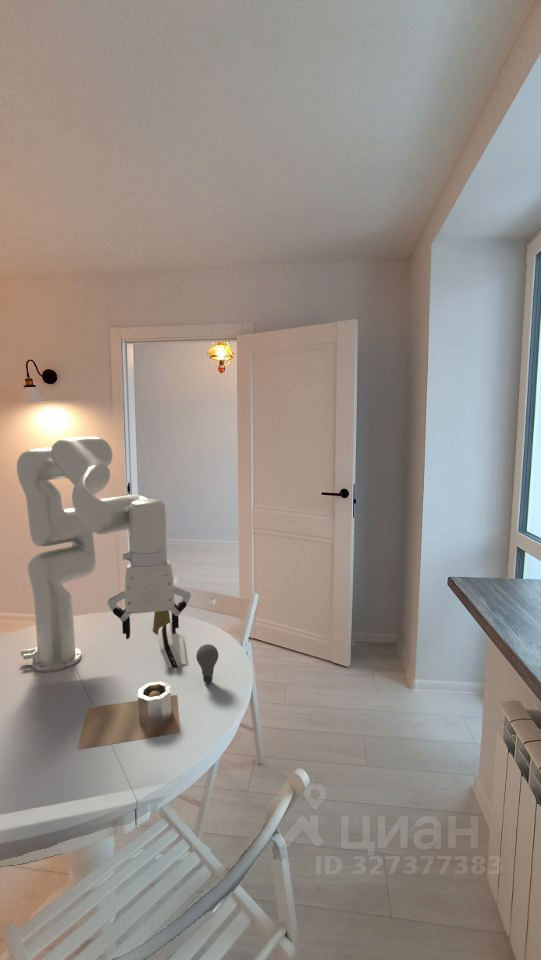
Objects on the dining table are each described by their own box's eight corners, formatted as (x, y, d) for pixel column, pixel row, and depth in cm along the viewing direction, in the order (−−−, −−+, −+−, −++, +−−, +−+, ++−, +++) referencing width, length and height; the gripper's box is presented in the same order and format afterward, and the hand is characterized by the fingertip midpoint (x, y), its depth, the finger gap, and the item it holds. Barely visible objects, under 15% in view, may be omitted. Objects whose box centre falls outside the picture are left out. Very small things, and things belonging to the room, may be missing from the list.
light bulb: (221, 686, 114) (220, 648, 113) (199, 690, 112) (198, 652, 111) (216, 674, 119) (215, 638, 118) (195, 679, 117) (194, 642, 116)
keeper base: (77, 756, 89) (75, 722, 88) (88, 714, 103) (86, 684, 102) (180, 739, 94) (179, 707, 93) (177, 700, 108) (176, 672, 107)
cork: (149, 633, 144) (148, 600, 143) (157, 625, 150) (156, 593, 149) (167, 634, 143) (166, 601, 142) (174, 626, 149) (173, 594, 148)
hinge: (189, 670, 121) (175, 639, 119) (172, 678, 120) (158, 646, 118) (185, 642, 137) (172, 614, 135) (170, 649, 136) (157, 621, 134)
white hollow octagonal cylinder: (138, 728, 95) (137, 701, 95) (139, 709, 102) (138, 684, 101) (171, 723, 97) (170, 696, 96) (170, 704, 104) (169, 680, 103)
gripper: (103, 565, 90) (107, 646, 92) (191, 559, 94) (192, 637, 96) (107, 555, 98) (111, 630, 99) (188, 550, 102) (190, 622, 104)
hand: (151, 633), depth 98 cm, fingers open, 9 cm apart
